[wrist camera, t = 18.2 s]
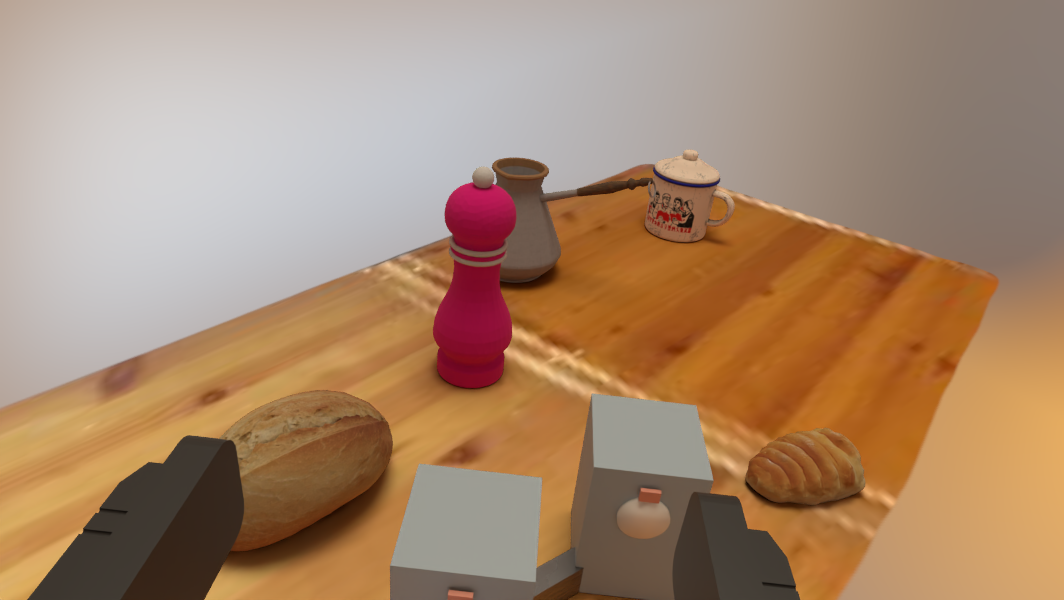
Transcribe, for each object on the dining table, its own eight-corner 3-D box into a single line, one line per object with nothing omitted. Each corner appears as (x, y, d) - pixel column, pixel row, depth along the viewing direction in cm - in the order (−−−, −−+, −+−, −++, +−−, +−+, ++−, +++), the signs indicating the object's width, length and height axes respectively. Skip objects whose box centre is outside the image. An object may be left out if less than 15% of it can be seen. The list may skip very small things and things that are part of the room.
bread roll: (427, 483, 54) (430, 401, 50) (241, 603, 43) (226, 511, 40) (351, 422, 59) (348, 342, 55) (170, 515, 49) (150, 426, 45)
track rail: (469, 658, 42) (471, 633, 40) (455, 637, 43) (457, 612, 41) (628, 562, 49) (634, 538, 48) (612, 546, 50) (618, 522, 49)
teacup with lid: (631, 230, 99) (646, 150, 93) (657, 212, 106) (673, 136, 100) (712, 257, 94) (733, 174, 88) (734, 236, 101) (755, 157, 95)
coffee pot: (446, 273, 83) (451, 150, 75) (490, 239, 92) (498, 126, 84) (618, 326, 76) (643, 196, 69) (647, 283, 85) (671, 165, 78)
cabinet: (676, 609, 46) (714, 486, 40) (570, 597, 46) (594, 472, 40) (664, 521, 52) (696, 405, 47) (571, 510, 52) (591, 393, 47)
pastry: (779, 526, 53) (792, 489, 52) (723, 467, 59) (734, 431, 57) (867, 496, 57) (882, 461, 55) (807, 443, 62) (820, 409, 61)
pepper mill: (440, 396, 63) (450, 185, 53) (425, 351, 68) (430, 152, 58) (517, 387, 65) (540, 182, 55) (496, 344, 71) (513, 152, 61)
